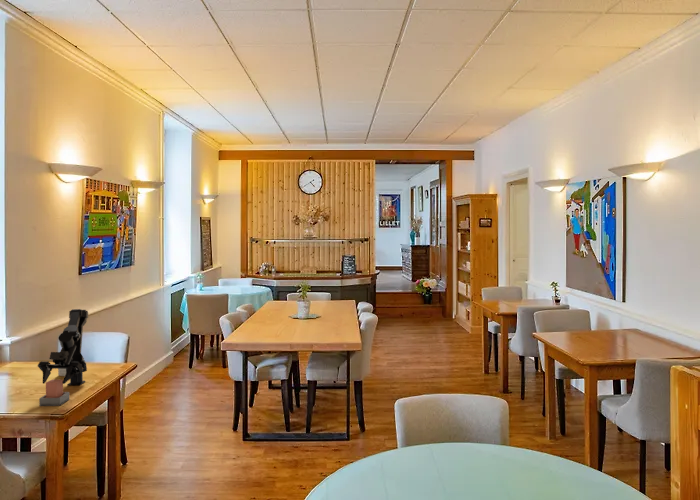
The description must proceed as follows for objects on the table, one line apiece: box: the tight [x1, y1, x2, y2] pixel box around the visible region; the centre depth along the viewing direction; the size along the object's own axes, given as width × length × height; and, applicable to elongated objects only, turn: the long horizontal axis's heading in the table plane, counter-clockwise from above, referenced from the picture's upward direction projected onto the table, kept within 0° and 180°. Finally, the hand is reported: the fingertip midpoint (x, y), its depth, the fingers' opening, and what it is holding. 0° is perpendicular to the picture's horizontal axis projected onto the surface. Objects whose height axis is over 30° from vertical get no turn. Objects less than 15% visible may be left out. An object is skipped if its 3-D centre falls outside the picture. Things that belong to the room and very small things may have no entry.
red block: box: [45, 378, 64, 398], centre depth 242 cm, size 5×5×9 cm
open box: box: [38, 391, 70, 407], centre depth 242 cm, size 9×9×4 cm
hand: (53, 383), depth 241 cm, fingers open, 9 cm apart
